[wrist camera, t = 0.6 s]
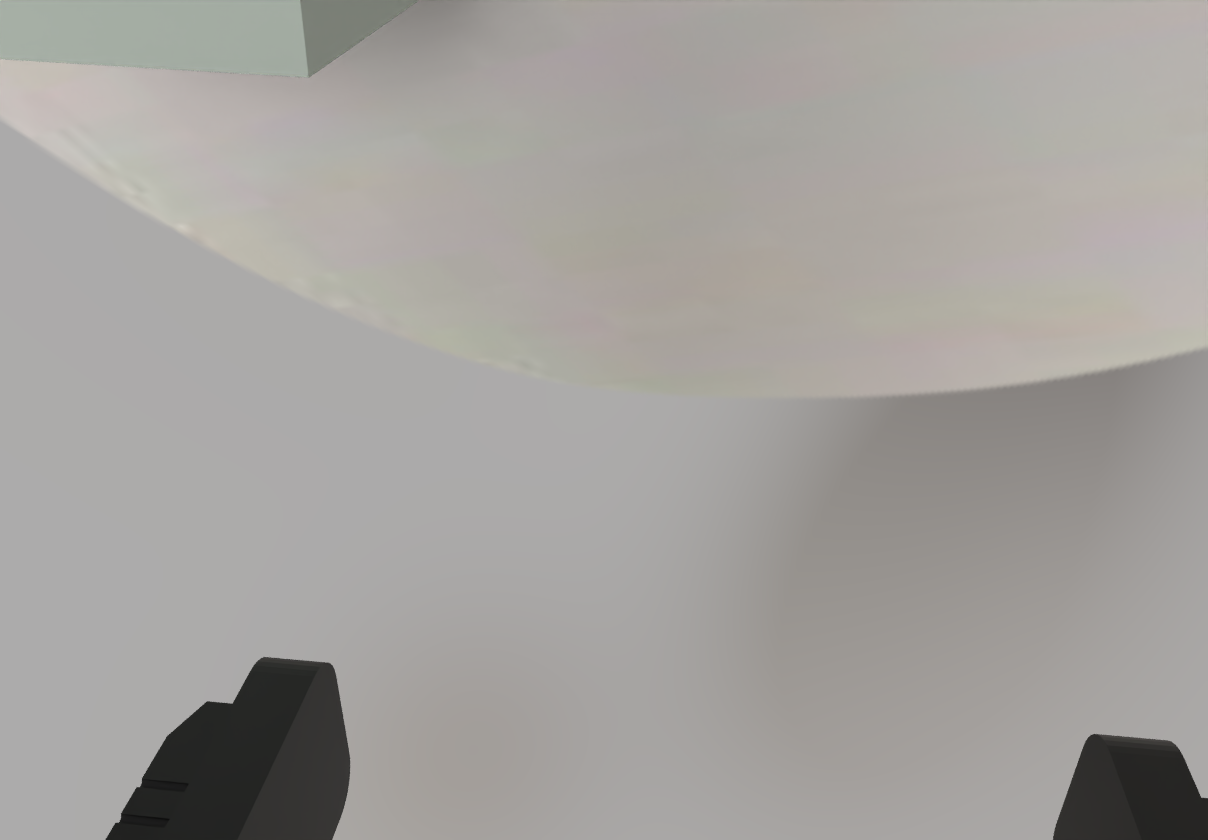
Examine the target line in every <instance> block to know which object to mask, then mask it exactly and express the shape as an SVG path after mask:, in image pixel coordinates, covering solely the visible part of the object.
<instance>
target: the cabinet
mask: <svg viewBox="0 0 1208 840" xmlns="http://www.w3.org/2000/svg"><path fill="white" fill-rule="evenodd" d="M417 1H419V0H0V59H5V60H22V61H38V62H55V63H72V64H89V65H105V66H122V67H139V68H155V69H172V70H189V71H206V72H222V73H239V74H256V75H273V76H289V77H306V78H309V77H310V76H312V75H313V74H315V73H316V72H317V71H319V70H320V69H322V68H323V67H325V66H326V65H327V64H329V63H330V62H332V61H333V60H335V59H336V58H337V57H339V56H340V55H342V54H343V53H345V52H346V51H347V50H349V49H350V48H352V47H353V46H355V45H356V44H357V43H359V42H360V41H362V40H363V39H364V38H366V37H367V36H369V35H370V34H372V33H373V32H374V31H376V30H377V29H379V28H380V27H382V26H383V25H384V24H386V23H387V22H389V21H390V20H392V19H393V18H394V17H396V16H397V15H399V14H400V13H402V12H403V11H404V10H406V9H407V8H409V7H410V6H411V5H413V4H414V3H416V2H417Z"/></svg>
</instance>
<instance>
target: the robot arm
mask: <svg viewBox="0 0 1208 840" xmlns="http://www.w3.org/2000/svg"><path fill="white" fill-rule="evenodd" d="M349 777H350V755H349V748H348V743H347V737H346V731H345V725H344V719H343V714H342V708H341V702H340V696H339V690H338V684H337V679H336V674H335V670H334V668H333V666H332V665H331V664H330V663H325V662H314V661H302V660H292V659H291V660H290V659H280V658H269V657H263V658H261V659H260V660H258V661H257V662H256V664H255V665H254V666H253V668H252V670H251V671H250V673H249V675H248V676H247V678H246V680H245V682H244V684H243V686H242V687H241V689H240V691H239V693H238V695H237V697H236V699H235V700H234V702H233V704H228V703H219V702H218V703H217V702H206V703H205V704H204V705H202V706H201V707H200V708H199V709H198V710H197V711H196V712H194V713H193V714H192V715H191V716H190V717H189V718H188V719H186V720H185V721H184V722H183V723H182V724H181V725H180V726H178V727H177V728H176V729H175V730H174V731H173V732H171V734H169V735H168V736H167V737H166V739H165V741H164V742H163V744H162V746H161V747H160V749H159V751H158V752H157V754H156V756H155V757H154V759H153V761H152V762H151V764H150V766H149V768H148V770H147V771H146V773H145V774H144V776H143V778H142V784H141V786H140V787H137V788H136V789H135V791H134V793H133V794H132V796H131V798H130V800H129V801H128V803H127V805H126V806H125V808H124V810H123V811H122V813H121V820H120V822H119V823H115V825H114V826H113V828H112V830H111V832H110V833H109V835H108V837H107V838H106V840H332V838H333V836H334V833H335V831H336V828H337V825H338V823H339V820H340V818H341V815H342V812H343V809H344V805H345V801H346V797H347V792H348V786H349ZM1053 840H1208V798H1201V796H1200V794H1199V792H1198V789H1197V787H1196V785H1195V782H1194V780H1193V778H1192V776H1191V773H1190V771H1189V769H1188V766H1187V764H1186V762H1185V759H1184V758H1183V755H1182V754H1181V752H1180V750H1179V749H1178V747H1177V746H1176V745H1175V744H1174V743H1172V742H1171V741H1166V740H1155V739H1144V738H1133V737H1122V736H1111V735H1099V734H1093V735H1091V736H1090V737H1088V739H1087V740H1086V742H1085V744H1084V747H1083V749H1082V752H1081V755H1080V758H1079V761H1078V764H1077V767H1076V769H1075V772H1074V775H1073V778H1072V781H1071V784H1070V787H1069V789H1068V793H1067V795H1066V798H1065V801H1064V804H1063V807H1062V810H1061V812H1060V815H1059V818H1058V821H1057V824H1056V827H1055V831H1054V836H1053Z"/></svg>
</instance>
